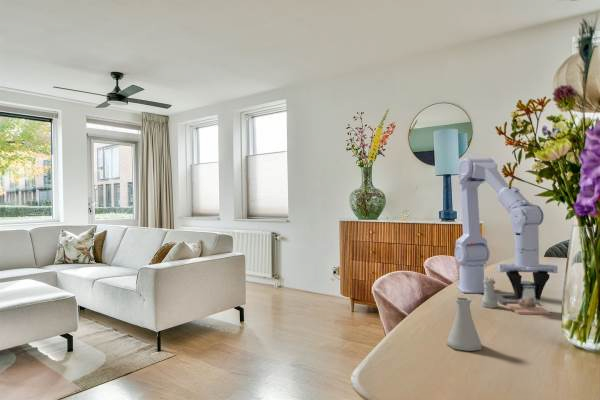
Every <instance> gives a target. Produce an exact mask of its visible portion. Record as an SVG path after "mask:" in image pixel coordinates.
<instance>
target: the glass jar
mask: <svg viewBox="0 0 600 400" xmlns="http://www.w3.org/2000/svg"><path fill="white" fill-rule="evenodd" d="M536 287H537V284H536V283H534V281H528V280H521V286H520V290H521V299H517V301H518V305H520V306H523V307H530V308H532V307H536V301H537V299H536Z"/></svg>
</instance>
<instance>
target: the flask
mask: <svg viewBox="0 0 600 400" xmlns="http://www.w3.org/2000/svg"><path fill="white" fill-rule="evenodd" d="M455 302H456V313H455V318H454V320H453V324H452V326H451V328H450V332H449V334H448V337H447V341H446V345H447V346H449V347H451V348H452V349H453V350H460V351H468V352H473V351H481V350H483V344H482V341H481V339H480V337H479V333H478V331H477V328H476V326H475V323H474V320H473V317H472V312H471V303H472V299H471V298H469V297H466V296H465V297H464V296H460V297H459V296H457V297H455Z"/></svg>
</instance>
